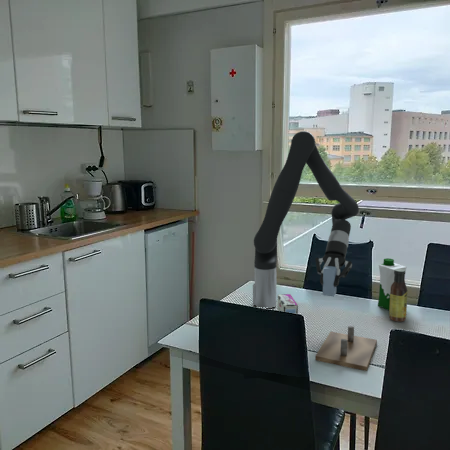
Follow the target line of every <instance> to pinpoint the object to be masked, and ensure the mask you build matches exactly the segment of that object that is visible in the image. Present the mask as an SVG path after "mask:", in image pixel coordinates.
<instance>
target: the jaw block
mask: <svg viewBox="0 0 450 450" xmlns="http://www.w3.org/2000/svg"><path fill="white" fill-rule="evenodd" d="M323 268H324V267H323ZM323 268H322V270H323V285H322V296H327V297H334V296H335V295H336V294H337V286H336V287H334V280H335V276H336V271H337V267H333V266H325V268H324V269H323Z"/></svg>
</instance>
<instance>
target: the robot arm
mask: <svg viewBox="0 0 450 450" xmlns="http://www.w3.org/2000/svg"><path fill="white" fill-rule="evenodd" d="M306 164H307V166H308V168H309V169H310V171H311V173H312V175H313V177H314V179H315V180H316V183H317V184H318V186H319V187H320V189H321V191H322V193H323V194H324V195H325V197H326V198H327V200H328V201H337V202H338V203H337V204H335V205H334V206H333V207H332V209H331V223H332V226H331V230H330V234H329V237H328V240H327V243H326V248H325V252H324V255H323V256H322V257H321V258H320V257H315V259H314V260H315V267H316V272H317V274H318V275H320V277H319V283H320V284H321V286H323V269H324V268H325V266H333V267H337V271H336V276H335V280H334V287H336V288H337V286H339V284H340V279H341V278H346V277H347V276H348V274H349V273H350V271H351V269H352V267H353V262H352V261H350V260H349V261H348V260H346V256H347V251H348V248H349V241H350V239H349V238H350V234H351V228H352V226H351V225H352V224H351V223H350V221H348V219H350V218H353V217H354V218H355V216H357V215H358V214H359V210H360V209H359V204H358V203H357V201H356V200H355V199H354V198H353V197H352V196H351V195H350V194H349V193H348V192H346V190H344V188H342V186H341V183H340V182H339V181H338V179H337V178H336V176H335V174H334V173H333V172H332V170H331V169H330V168H329V166H328V165H327V164H326V162H325V160H324V159H323V157H322V155H321V154H320V152H319V150H318V147H317V144H316V139H315V137H314V135H313V134H312V133H311V132H310V131H306V130H302V131H297V132H296V133H295V134H294V135H293V136H292V139H291V142H290V147H289V151H288V154H287V158H286V161H285V163H284V165H283V167H282V170H281V171H280V173H279V175H278V176H277V179H276V181H275V183H274V184H273V185H274V186H273V189H272V190H271V194H270V196H269V199H268V202H267V207H266V211H265V216H264V218H263V221H262V223H261V224H260V227H259V229H258V231H257V232H256V234H255V236H254V238H253V246H254V261H253V262H254V264H253V265H254V283H253V284H252V305H253V304H254V305H256V306H258V307H262V308H263V307H265V308H266V307H268V308H271V307H274V306H276V307H277V261H278V237H279V233H280V229H281V226H282V224H283V222H284V220H285V219H286V217H287V215H288V213H289V210H290V208H291V206H292V204H293V202H294V200H295V197H296V195H297V192H298V188H299V185H300V182H301V179H302V175H303V171H304V169H305V166H306ZM322 263H324V265H323V267H322V269H321V265H322ZM344 265H345V266H344ZM343 266H344V268H343V270H342V272H341V268H342V267H343Z"/></svg>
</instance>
